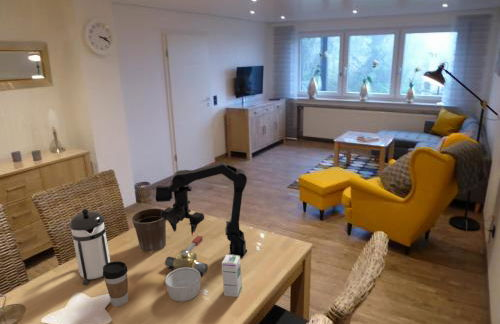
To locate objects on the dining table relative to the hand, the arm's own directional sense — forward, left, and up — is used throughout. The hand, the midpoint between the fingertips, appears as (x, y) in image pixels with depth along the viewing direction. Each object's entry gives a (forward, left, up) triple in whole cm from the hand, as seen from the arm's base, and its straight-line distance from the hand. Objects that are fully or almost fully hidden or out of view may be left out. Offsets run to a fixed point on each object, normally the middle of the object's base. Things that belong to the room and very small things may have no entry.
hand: (183, 233), depth 155 cm
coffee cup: (+8, +34, -12) cm, 37 cm away
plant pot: (+20, -4, -12) cm, 24 cm away
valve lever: (-6, +3, -5) cm, 8 cm away
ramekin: (-12, +22, -12) cm, 28 cm away
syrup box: (-30, +16, -12) cm, 36 cm away
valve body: (-6, +9, -12) cm, 16 cm away
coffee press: (+30, +23, -12) cm, 40 cm away
